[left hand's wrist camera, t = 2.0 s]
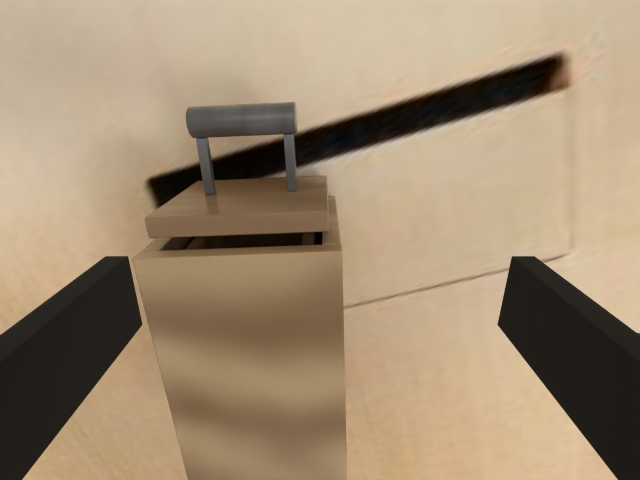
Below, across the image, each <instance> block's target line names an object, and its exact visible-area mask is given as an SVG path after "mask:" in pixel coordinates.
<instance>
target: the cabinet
mask: <svg viewBox="0 0 640 480" xmlns="http://www.w3.org/2000/svg"><path fill="white" fill-rule="evenodd" d="M328 206H329V231H328V232H317V245H302V246H275V247H248V248H222V249H195V250H185V249H186V248H187V246H188V245H189V244H190V243H191V242H192V241H193V240H194V239H195V237H170V238H156V239H155V240H154V241H153V242H152V243H150V244H149V245H148V246H147V247H146V248H145V249H144V250H142V252H140V253H139V254H137V255H136V256H135V257H134V258H133V259H132V261H133V265H134V269H135V273H136V277H137V281H138V284H139V288H140V292H141V296H142V300H143V304H144V308H145V312H146V316H147V320H148V324H149V328H150V332H151V336H152V339H153V343H154V347H155V351H156V355H157V359H158V363H159V367H160V371H161V375H162V379H163V383H164V387H165V391H166V395H167V398H168V402H169V406H170V410H171V414H172V418H173V422H174V426H175V430H176V434H177V438H178V442H179V446H180V450H181V454H182V457H183V461H184V465H185V469H186V473H187V477H188V480H347V457H346V411H345V366H344V320H343V275H342V248H341V241H340V233H339V225H338V217H337V209H336V202H335V197H328Z"/></svg>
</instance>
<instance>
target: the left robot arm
mask: <svg viewBox="0 0 640 480" xmlns="http://www.w3.org/2000/svg"><path fill="white" fill-rule="evenodd" d="M141 326H142V321H141V316H140V311H139V306H138V302H137V297H136V292H135V287H134V283H133V278H132V273H131V268H130V264H129V259H128V256H106V257H104V258H103V259H102V260H100V261H99V262H98V263H96V264H95V265H94V266H92V267H91V268H90V269H88V270H87V271H86V272H84V273H83V274H81V275H80V276H79V277H77V278H76V279H75V280H73V281H72V282H71V283H69V284H68V285H67V286H65V287H64V288H63V289H61V290H60V291H59V292H57V293H56V294H55V295H53V296H52V297H51V298H49V299H48V300H47V301H45V302H44V303H43V304H41V305H40V306H39V307H37V308H36V309H35V310H33V311H32V312H31V313H29V314H28V315H27V316H25V317H24V318H23V319H21V320H20V321H19V322H17V323H16V324H15V325H13V326H12V327H11V328H9V329H8V330H7V331H5V332H4V333H3V334H1V335H0V480H22V479H23V478H24V476H25V475H26V474H27V473H28V471H29V470H30V469H31V467H32V466H33V465H34V464H35V462H36V461H37V460H38V458H39V457H40V456H41V455H42V453H43V452H44V451H45V449H46V448H47V447H48V446H49V444H50V443H51V442H52V440H53V439H54V438H55V436H56V435H57V434H58V433H59V431H60V430H61V429H62V427H63V426H64V425H65V424H66V422H67V421H68V420H69V418H70V417H71V416H72V415H73V413H74V412H75V411H76V409H77V408H78V407H79V406H80V404H81V403H82V402H83V400H84V399H85V398H86V397H87V395H88V394H89V393H90V391H91V390H92V389H93V388H94V386H95V385H96V384H97V382H98V381H99V380H100V379H101V377H102V376H103V375H104V373H105V372H106V371H107V370H108V368H109V367H110V366H111V364H112V363H113V362H114V361H115V359H116V358H117V357H118V355H119V354H120V353H121V352H122V350H123V349H124V348H125V346H126V345H127V344H128V343H129V341H130V340H131V339H132V337H133V336H134V335H135V333H136V332H137V331H138V330H139V328H140V327H141ZM498 326H499V327H500V328H501V330H502V331H503V332H504V333H505V335H506V336H507V337H508V339H509V340H510V341H511V343H512V344H513V345H514V346H515V348H516V349H517V350H518V352H519V353H520V354H521V355H522V357H523V358H524V359H525V361H526V362H527V363H528V364H529V366H530V367H531V368H532V370H533V371H534V372H535V373H536V375H537V376H538V377H539V379H540V380H541V381H542V382H543V384H544V385H545V386H546V388H547V389H548V390H549V391H550V393H551V394H552V395H553V397H554V398H555V399H556V400H557V402H558V403H559V404H560V406H561V407H562V408H563V409H564V411H565V412H566V413H567V415H568V416H569V417H570V418H571V420H572V421H573V422H574V424H575V425H576V426H577V427H578V429H579V430H580V431H581V433H582V434H583V435H584V437H585V438H586V439H587V440H588V442H589V443H590V444H591V446H592V447H593V448H594V449H595V451H596V452H597V453H598V455H599V456H600V457H601V458H602V460H603V461H604V462H605V464H606V465H607V466H608V467H609V469H610V470H611V471H612V473H613V474H614V475H615V476H616V478H617V479H618V480H640V333H636V332H635V331H633V330H632V329H631V328H629V327H628V326H627V325H625V324H624V323H623V322H621V321H620V320H619V319H617V318H616V317H615V316H613V315H612V314H611V313H609V312H608V311H607V310H605V309H604V308H603V307H601V306H600V305H599V304H597V303H596V302H595V301H593V300H592V299H591V298H589V297H588V296H587V295H585V294H584V293H583V292H581V291H580V290H579V289H577V288H576V287H575V286H573V285H572V284H571V283H569V282H568V281H567V280H565V279H564V278H563V277H561V276H560V275H559V274H557V273H556V272H554V271H553V270H552V269H550V268H549V267H548V266H546V265H545V264H544V263H542V262H541V261H540V260H538V259H537V258H536V257H534V256H512V259H511V264H510V268H509V273H508V278H507V283H506V287H505V292H504V297H503V302H502V306H501V311H500V316H499V321H498Z"/></svg>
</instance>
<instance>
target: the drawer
mask: <svg viewBox="0 0 640 480" xmlns="http://www.w3.org/2000/svg"><path fill="white" fill-rule="evenodd" d="M186 123H187V128H188V131H189V133H190V135H191V136H192V137H193V138H197V139H196V142H197V148H198V154H199V160H200V166H201V172H202V179H203V181H197V182H196V183H194V184H193V185H191V186H190V187H189V188H187V189H186V190H184V191H183V192H181V193H180V194H179V195H177V196H176V197H174V198H173V199H171V200H170V201H168V202H167V203H166V204H164V205H163V206H161V207H160V208H158V209H157V210H155V211H154V212H153V213H151V214H150V215H148V216H147V217H145V222H146V226H147V231H148V235H149V238H170V237H195V239H194V240H193V241H192V242H191V243H190V244H189V245H188V246H187V248H186V249H185V250H195V249H222V248H248V247H275V246H302V245H317V232H328V231H329V206H328V190H327V177H326V176H308V177H297V172H296V157H295V142H294V134H296V133H297V112H296V104H295V102H287V103H265V104H243V105H221V106H199V107H188V109H187V111H186ZM274 134H284V148H285V161H286V174H287V177H284V178H259V179H235V180H214V174H213V167H212V160H211V154H210V147H209V140H208V137H229V136H252V135H274Z"/></svg>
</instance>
